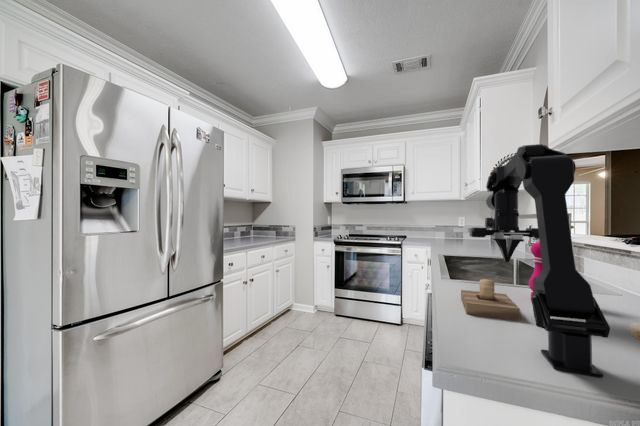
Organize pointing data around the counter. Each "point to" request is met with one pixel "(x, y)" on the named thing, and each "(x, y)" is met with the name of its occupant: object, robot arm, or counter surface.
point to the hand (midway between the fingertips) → (506, 261)
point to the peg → (487, 290)
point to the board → (490, 305)
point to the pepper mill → (538, 263)
